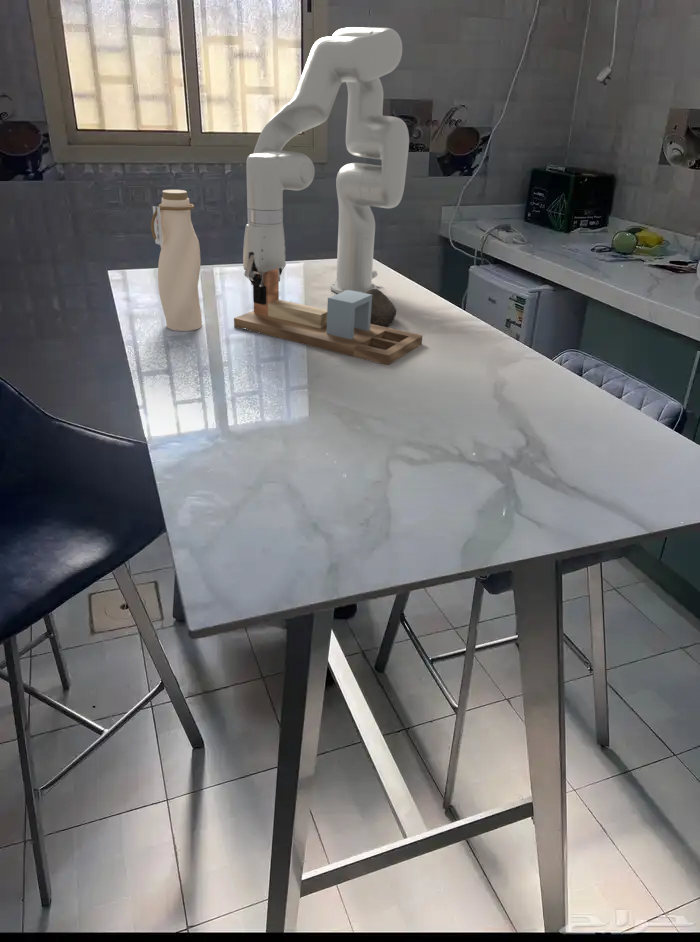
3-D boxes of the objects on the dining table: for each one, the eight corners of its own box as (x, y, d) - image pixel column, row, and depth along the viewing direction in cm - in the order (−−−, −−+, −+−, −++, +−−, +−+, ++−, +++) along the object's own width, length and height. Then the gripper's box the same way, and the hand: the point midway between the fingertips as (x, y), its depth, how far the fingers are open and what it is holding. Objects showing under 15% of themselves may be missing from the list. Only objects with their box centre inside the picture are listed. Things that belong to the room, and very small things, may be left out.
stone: (397, 337, 165) (391, 300, 168) (399, 320, 157) (393, 282, 159) (357, 342, 165) (352, 305, 167) (357, 325, 156) (351, 287, 159)
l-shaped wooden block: (264, 308, 160) (263, 265, 155) (329, 323, 152) (331, 278, 147) (253, 312, 157) (253, 268, 152) (320, 328, 149) (321, 282, 144)
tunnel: (346, 324, 153) (348, 289, 149) (369, 329, 150) (372, 294, 146) (326, 333, 146) (327, 297, 143) (350, 339, 144) (352, 303, 140)
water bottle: (177, 336, 146) (166, 196, 132) (150, 326, 151) (137, 190, 137) (213, 326, 153) (206, 192, 140) (186, 317, 158) (177, 187, 144)
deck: (275, 310, 166) (275, 302, 165) (421, 344, 150) (422, 335, 149) (234, 326, 154) (233, 318, 153) (388, 365, 137) (388, 355, 136)
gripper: (273, 210, 155) (274, 291, 164) (226, 219, 142) (229, 306, 151) (301, 214, 152) (300, 296, 161) (255, 224, 139) (257, 312, 148)
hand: (266, 300), depth 156 cm, fingers closed on l-shaped wooden block, 4 cm apart
